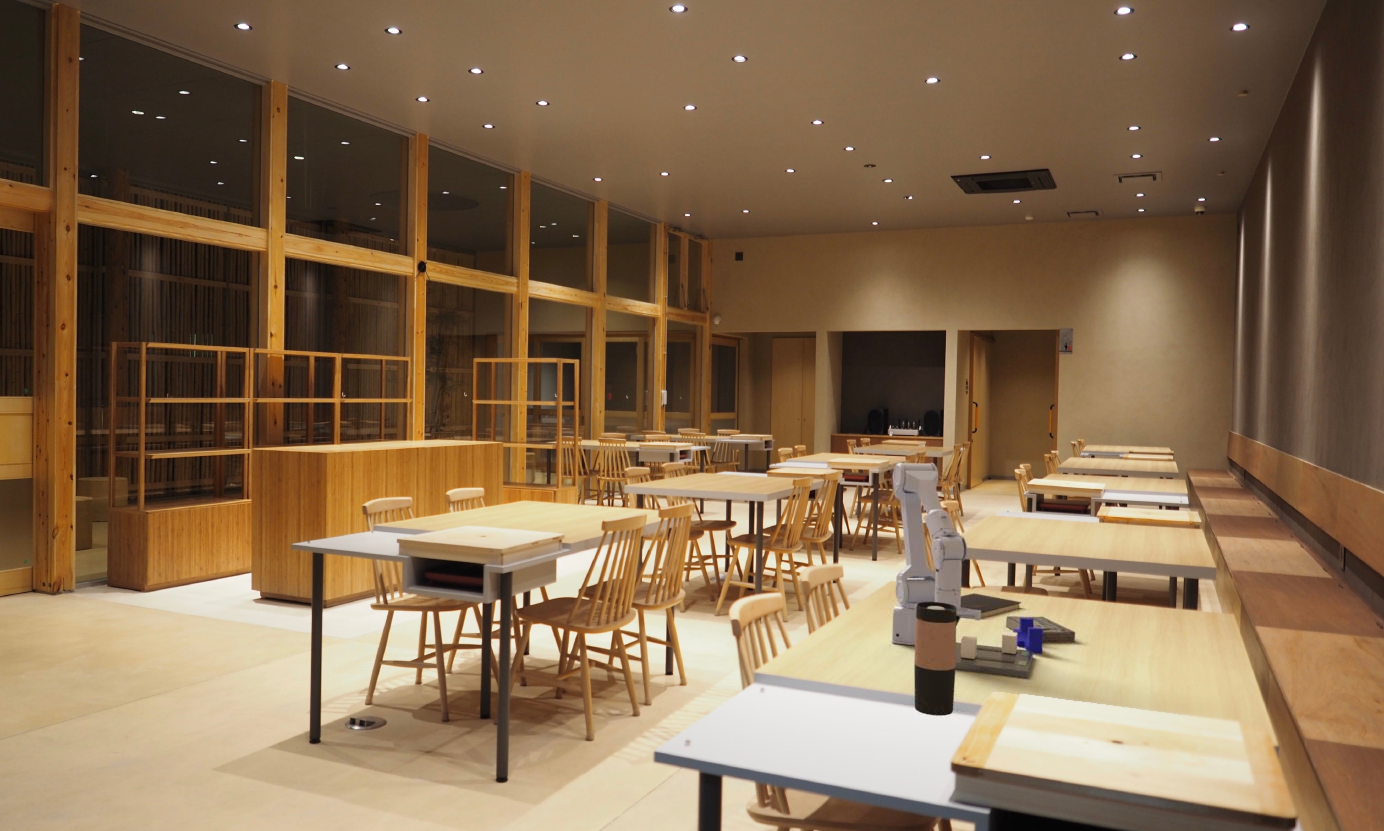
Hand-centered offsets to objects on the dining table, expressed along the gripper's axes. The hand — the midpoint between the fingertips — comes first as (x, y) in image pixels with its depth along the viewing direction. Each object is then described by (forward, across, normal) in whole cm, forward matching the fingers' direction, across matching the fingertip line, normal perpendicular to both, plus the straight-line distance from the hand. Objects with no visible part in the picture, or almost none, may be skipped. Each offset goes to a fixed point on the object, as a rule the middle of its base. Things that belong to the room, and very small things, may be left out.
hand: (946, 648), depth 221 cm
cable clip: (+3, +16, +22) cm, 28 cm away
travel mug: (+3, +3, -38) cm, 38 cm away
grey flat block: (+4, +18, +38) cm, 42 cm away
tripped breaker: (+1, +5, 0) cm, 5 cm away
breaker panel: (+3, +9, +3) cm, 10 cm away
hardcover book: (+4, -1, +63) cm, 63 cm away
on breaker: (+1, +13, +9) cm, 16 cm away
